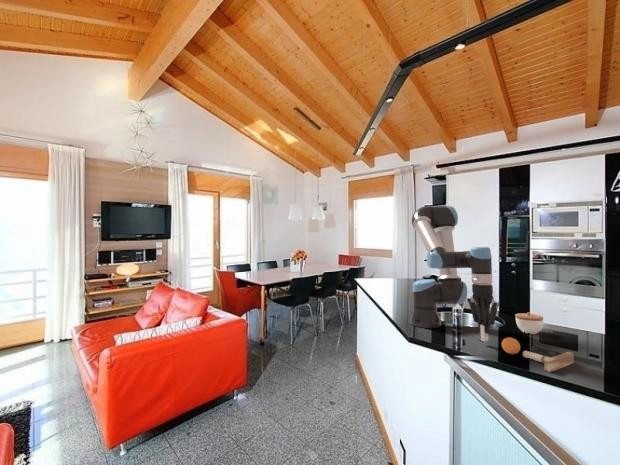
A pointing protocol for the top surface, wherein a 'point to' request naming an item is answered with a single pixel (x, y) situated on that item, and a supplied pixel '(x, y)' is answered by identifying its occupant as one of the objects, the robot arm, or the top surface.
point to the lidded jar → (529, 322)
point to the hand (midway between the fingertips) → (484, 340)
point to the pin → (535, 356)
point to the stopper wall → (558, 361)
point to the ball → (511, 345)
